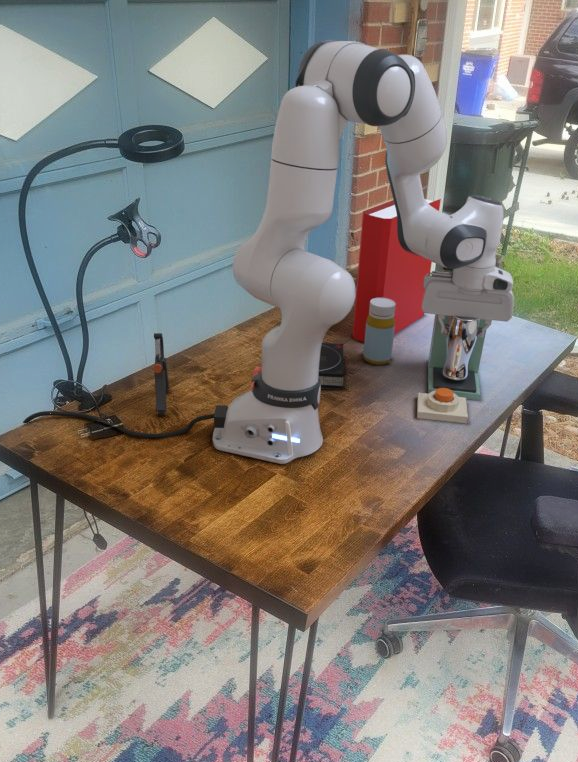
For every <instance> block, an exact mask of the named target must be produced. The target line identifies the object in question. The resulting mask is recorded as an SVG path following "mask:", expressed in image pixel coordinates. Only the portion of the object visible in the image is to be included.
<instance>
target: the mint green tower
mask: <svg viewBox="0 0 578 762" xmlns="http://www.w3.org/2000/svg"><path fill="white" fill-rule="evenodd" d="M495 267H498V268H500V265H499V260H498V259H497V258H496V265H495ZM441 272H451V273H452V272H453V269H449V268H445V267H443V266H441ZM451 279H452V277H451ZM433 319H434V320H433V327H432V333H431V340H430V346H429V354H428V359H427V385H428V386H427V394H429V393H430V392H432V391H436V390H437V389H438V388H447V389H450V390H452V391H453V393H455V394H456V395H457V396H458V397H465V398H466V400H472V401H473V400H474V401H480V399H481V388H480V380H479V371H480V365H481V360H482V355H483V349H484V345H485V339H486V336H487V335H486V334H487V330H486V331H485V332H484V337H477V339H476V342H475V345H474V348H473V351H472V353H471V356H470V359H469V362H468V376H467V378H466V379H464V380H451V379H448V378H446V377H444V376H443V374H442V370H443V368H444V365H445V362H446V336H447V334H445V333H441V324H440V322H439V319H438V315H437V314H434V318H433ZM443 320H444V323H445V324H449V320H450V316H446V315H445V319H443ZM484 324H485V319H479V327H482V326H483V325H484Z"/></svg>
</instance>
